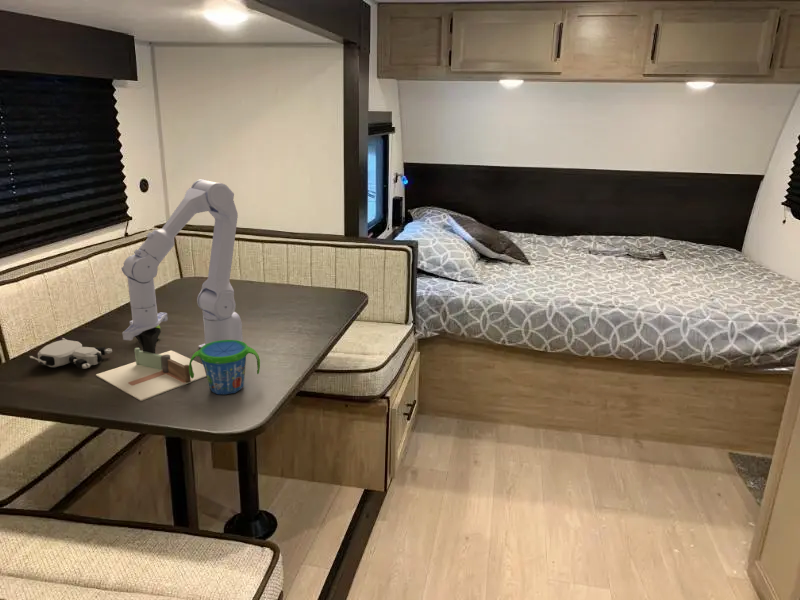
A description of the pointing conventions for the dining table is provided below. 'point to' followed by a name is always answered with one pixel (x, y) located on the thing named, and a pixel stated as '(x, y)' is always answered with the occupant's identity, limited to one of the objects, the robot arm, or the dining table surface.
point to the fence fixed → (175, 368)
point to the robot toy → (70, 354)
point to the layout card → (149, 377)
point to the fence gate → (148, 359)
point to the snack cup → (224, 365)
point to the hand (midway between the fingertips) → (149, 357)
